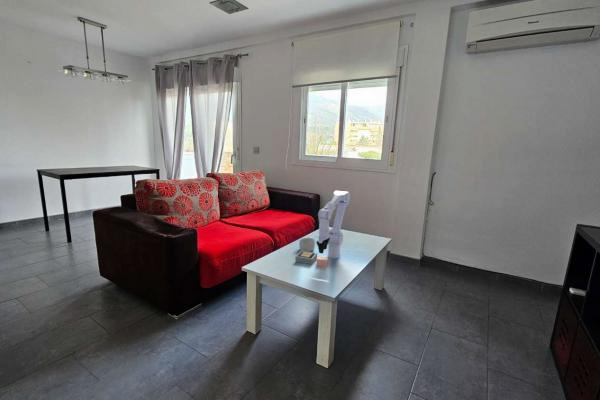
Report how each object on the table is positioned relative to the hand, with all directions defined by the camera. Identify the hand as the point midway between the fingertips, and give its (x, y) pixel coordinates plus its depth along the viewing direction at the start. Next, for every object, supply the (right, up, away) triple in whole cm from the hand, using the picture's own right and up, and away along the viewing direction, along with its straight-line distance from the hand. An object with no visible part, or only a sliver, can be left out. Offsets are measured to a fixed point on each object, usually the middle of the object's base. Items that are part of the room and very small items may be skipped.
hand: (322, 251), depth 168 cm
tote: (-10, -8, +8) cm, 15 cm away
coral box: (0, -9, +2) cm, 10 cm away
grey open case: (-9, -5, +27) cm, 29 cm away
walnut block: (-10, -7, +7) cm, 14 cm away
